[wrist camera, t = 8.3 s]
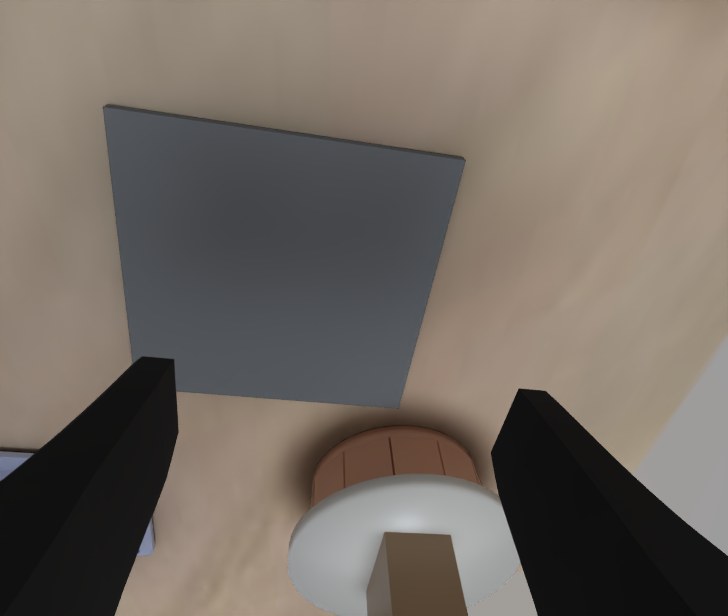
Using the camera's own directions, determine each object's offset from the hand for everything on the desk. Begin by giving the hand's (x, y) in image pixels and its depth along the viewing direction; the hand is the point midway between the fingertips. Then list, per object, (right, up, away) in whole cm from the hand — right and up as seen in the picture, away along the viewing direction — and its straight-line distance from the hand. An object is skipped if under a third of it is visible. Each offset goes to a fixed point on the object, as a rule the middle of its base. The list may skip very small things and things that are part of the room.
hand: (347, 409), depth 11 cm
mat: (-3, +3, +10) cm, 11 cm away
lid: (+2, -9, +13) cm, 17 cm away
